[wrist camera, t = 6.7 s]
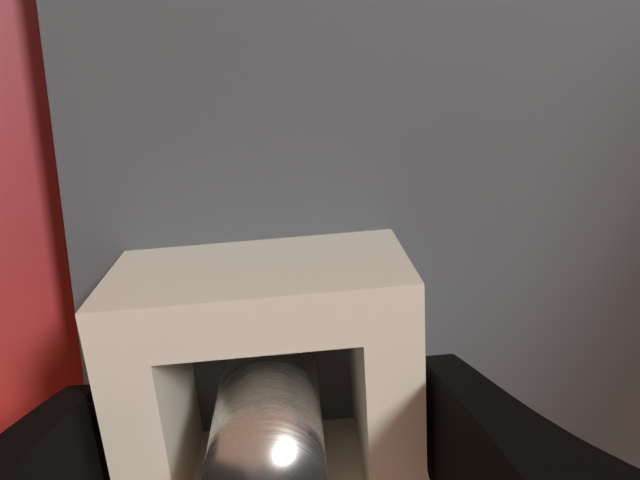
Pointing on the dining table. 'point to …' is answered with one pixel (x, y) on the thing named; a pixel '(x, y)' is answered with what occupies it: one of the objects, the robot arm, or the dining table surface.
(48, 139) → the dining table surface
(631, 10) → the board
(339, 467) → the ring
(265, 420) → the piston
